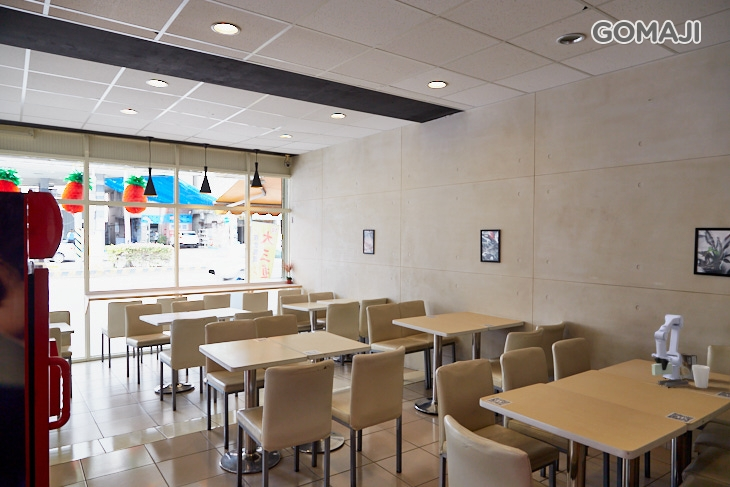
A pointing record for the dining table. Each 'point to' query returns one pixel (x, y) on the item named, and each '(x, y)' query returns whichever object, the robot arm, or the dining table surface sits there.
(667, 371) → the door panel
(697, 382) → the foam cup
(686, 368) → the coffee box
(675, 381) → the bottom track
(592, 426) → the dining table surface
